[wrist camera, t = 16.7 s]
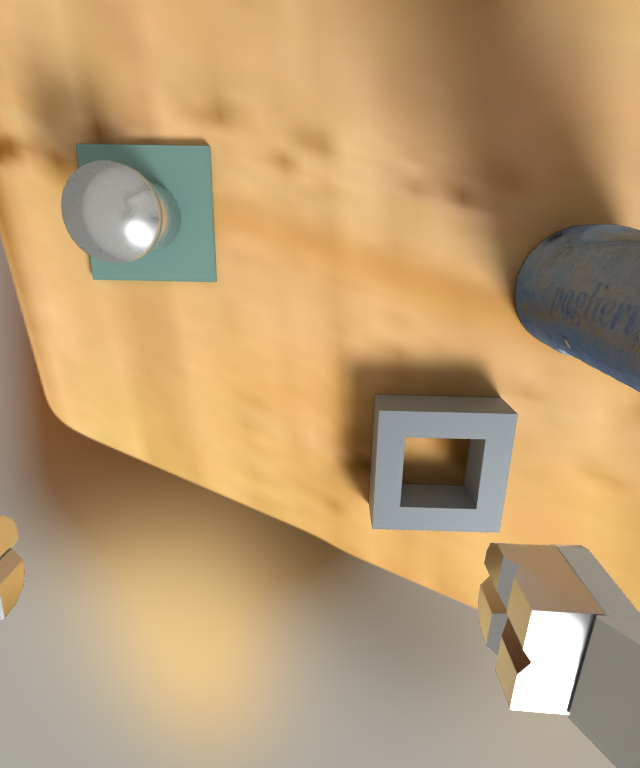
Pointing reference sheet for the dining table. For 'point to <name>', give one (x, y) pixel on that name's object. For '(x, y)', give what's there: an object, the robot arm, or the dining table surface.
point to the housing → (441, 502)
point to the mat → (195, 200)
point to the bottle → (586, 297)
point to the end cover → (118, 212)
